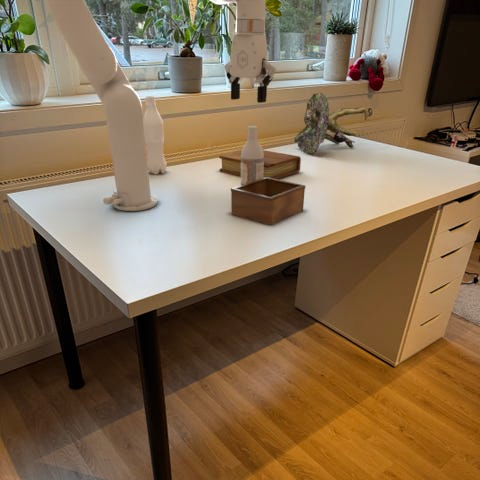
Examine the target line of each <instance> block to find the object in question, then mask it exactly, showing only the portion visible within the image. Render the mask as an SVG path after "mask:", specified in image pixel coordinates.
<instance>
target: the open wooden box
mask: <svg viewBox="0 0 480 480" xmlns="http://www.w3.org/2000/svg"><path fill="white" fill-rule="evenodd" d="M305 191H306V185H305V184H300V183H297V182H291V181H286V180H282V179H273V178H268V177H265V178H262V179H259V180H256V181H253V182H249V183H246V184H243V185H241V184H240V185H238V186H235V187H231V188H230V195H231V196H230V197H231V199H230V204H231V207H230V208H231V211H230V212H231V215H233V216H237V217H239V218H243V219H247V220H250V221H254V222H257V223H261V224H264V225H268V226H272V225H274V224H277V223H278V222H281V221H283V220H285V219H288V218H290V217H292V216H294V215H296V214H299V213H301V212H303V211H304V203H305V193H306V192H305Z"/></svg>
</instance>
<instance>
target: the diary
mask: <svg viewBox="0 0 480 480" xmlns="http://www.w3.org/2000/svg"><path fill="white" fill-rule="evenodd" d="M241 152H242V150H237V151H234V152H230V153H225V154H220V155H218V159H221V168H219V172H221V173H225V174H230V175H233V176H238V177H241ZM263 153H264V173H263V178H265V177H268V178H273V179H278V180H280V179H282V178H286V177H289V176H292V175H294V174H295V175H296V174H298V173H300V171H301V161H302V158H301V156H300V155H299V156H298V155H293V154H287V153H283V152H277V151H270V150H265V149H263Z"/></svg>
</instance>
